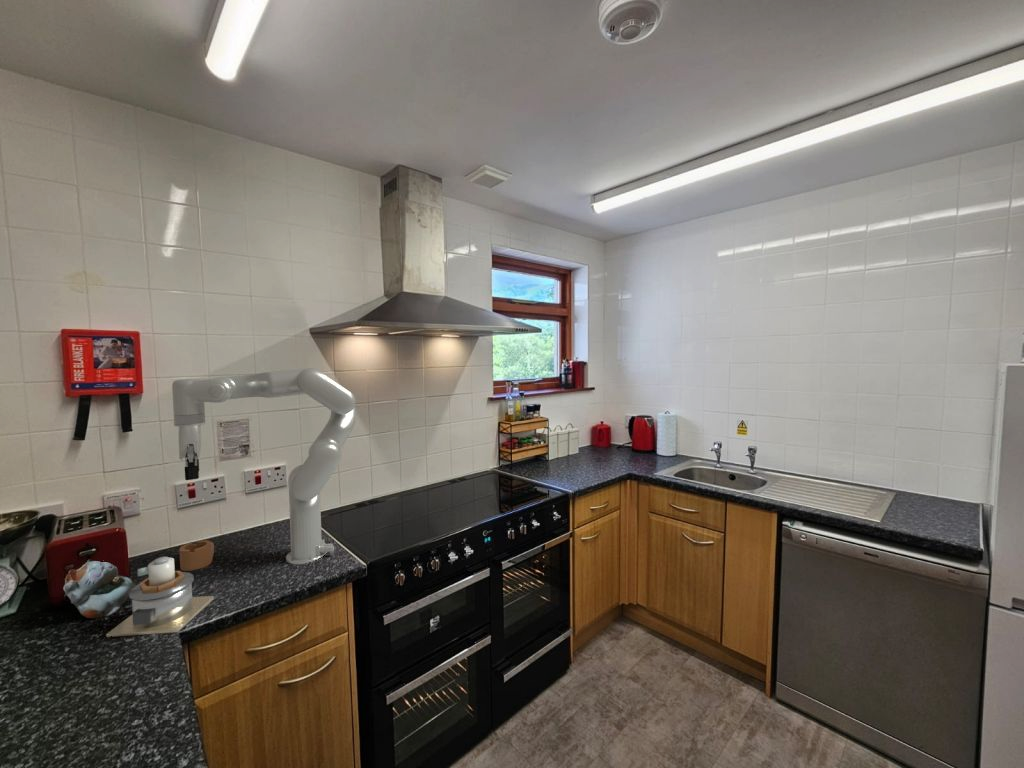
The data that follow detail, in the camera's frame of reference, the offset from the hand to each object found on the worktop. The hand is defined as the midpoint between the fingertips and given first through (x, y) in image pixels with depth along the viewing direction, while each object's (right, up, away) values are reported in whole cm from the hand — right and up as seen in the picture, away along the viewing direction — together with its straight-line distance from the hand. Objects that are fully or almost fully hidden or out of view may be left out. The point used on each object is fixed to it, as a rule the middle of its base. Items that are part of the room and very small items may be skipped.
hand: (192, 475), depth 129 cm
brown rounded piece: (-9, -32, +15) cm, 36 cm away
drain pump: (+6, -24, -19) cm, 31 cm away
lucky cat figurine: (-14, -34, -14) cm, 39 cm away
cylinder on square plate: (+6, -33, -18) cm, 38 cm away
